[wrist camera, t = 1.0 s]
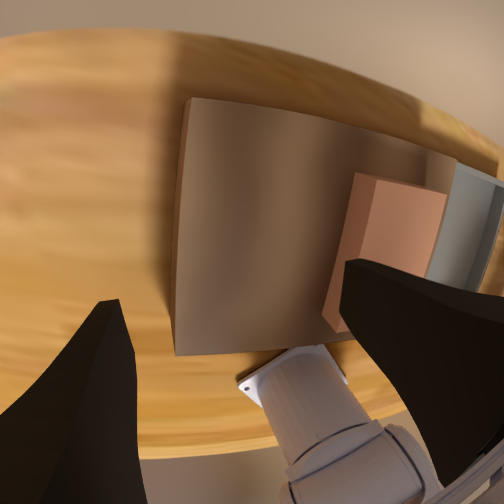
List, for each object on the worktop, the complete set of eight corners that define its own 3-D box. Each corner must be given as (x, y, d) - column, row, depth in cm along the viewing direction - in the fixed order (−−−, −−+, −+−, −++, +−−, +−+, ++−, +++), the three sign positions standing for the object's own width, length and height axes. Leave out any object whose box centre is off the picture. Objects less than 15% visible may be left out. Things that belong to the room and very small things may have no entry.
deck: (420, 150, 22) (457, 159, 18) (379, 305, 27) (405, 330, 23) (184, 102, 16) (191, 97, 13) (170, 318, 21) (175, 356, 18)
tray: (496, 179, 26) (510, 184, 24) (462, 294, 31) (473, 302, 29) (420, 150, 22) (437, 154, 20) (379, 305, 27) (392, 317, 25)
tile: (425, 186, 18) (447, 194, 16) (390, 307, 21) (406, 321, 20) (354, 172, 16) (377, 179, 15) (321, 314, 20) (336, 332, 18)
